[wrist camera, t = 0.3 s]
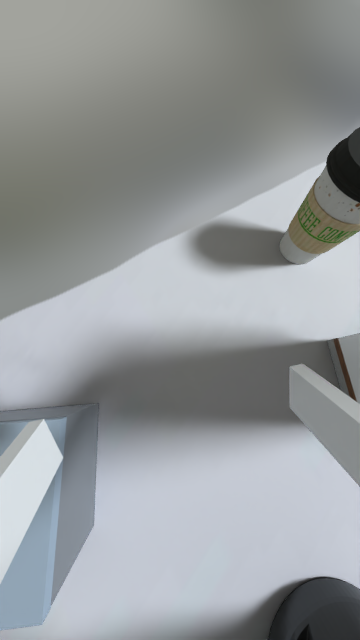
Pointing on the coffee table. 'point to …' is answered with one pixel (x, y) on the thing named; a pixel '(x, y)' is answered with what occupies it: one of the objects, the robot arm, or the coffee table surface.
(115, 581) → the coffee table surface
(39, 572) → the lid
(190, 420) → the coffee table surface
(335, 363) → the tall white vase
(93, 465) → the tub
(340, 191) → the coffee cup
